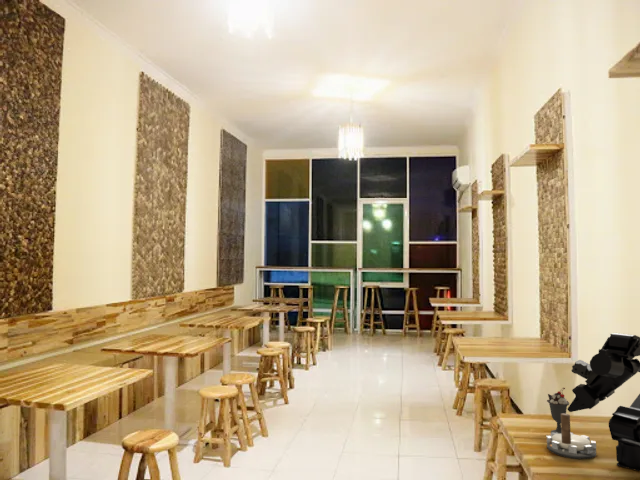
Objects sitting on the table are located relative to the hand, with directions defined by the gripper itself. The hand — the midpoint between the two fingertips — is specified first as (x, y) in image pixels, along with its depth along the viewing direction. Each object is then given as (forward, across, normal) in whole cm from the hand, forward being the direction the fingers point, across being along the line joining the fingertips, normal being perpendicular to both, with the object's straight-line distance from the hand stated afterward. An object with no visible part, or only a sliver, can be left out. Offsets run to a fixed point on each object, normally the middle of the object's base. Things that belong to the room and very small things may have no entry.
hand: (572, 408), depth 141 cm
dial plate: (+11, -3, +8) cm, 14 cm away
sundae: (+17, -16, +3) cm, 24 cm away
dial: (+10, -3, +7) cm, 12 cm away
